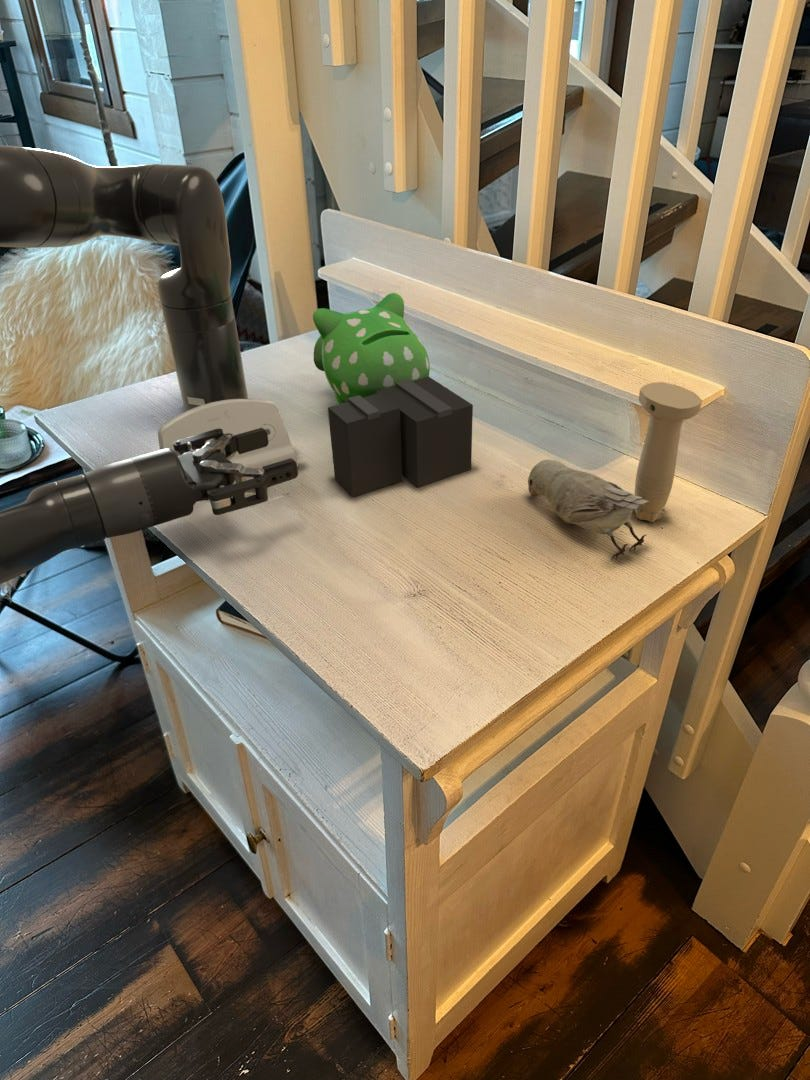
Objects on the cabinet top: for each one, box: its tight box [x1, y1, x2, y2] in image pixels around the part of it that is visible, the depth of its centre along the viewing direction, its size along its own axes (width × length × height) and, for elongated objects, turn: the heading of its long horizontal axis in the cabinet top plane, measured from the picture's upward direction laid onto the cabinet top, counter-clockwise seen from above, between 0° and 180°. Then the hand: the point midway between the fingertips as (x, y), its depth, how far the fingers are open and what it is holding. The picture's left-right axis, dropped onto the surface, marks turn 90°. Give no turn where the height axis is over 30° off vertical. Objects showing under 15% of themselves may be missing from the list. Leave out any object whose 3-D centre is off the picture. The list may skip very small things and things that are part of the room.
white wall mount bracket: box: [157, 398, 299, 484], centre depth 96 cm, size 17×5×10 cm, turn 117°
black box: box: [327, 393, 403, 498], centre depth 92 cm, size 5×7×10 cm
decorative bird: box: [527, 459, 649, 562], centre depth 83 cm, size 5×16×8 cm, turn 34°
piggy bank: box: [312, 292, 431, 405], centre depth 107 cm, size 14×18×15 cm
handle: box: [633, 381, 703, 523], centre depth 82 cm, size 5×6×15 cm
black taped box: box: [375, 376, 474, 488], centre depth 95 cm, size 10×8×9 cm
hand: (280, 451), depth 86 cm, fingers open, 8 cm apart
